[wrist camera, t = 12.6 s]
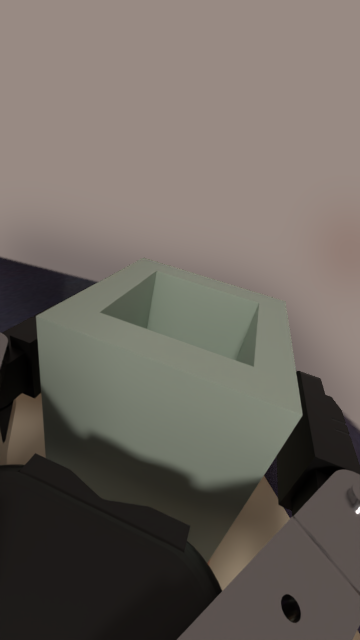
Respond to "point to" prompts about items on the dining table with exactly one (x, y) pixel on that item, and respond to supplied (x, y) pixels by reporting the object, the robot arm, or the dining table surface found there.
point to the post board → (239, 542)
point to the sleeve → (169, 392)
